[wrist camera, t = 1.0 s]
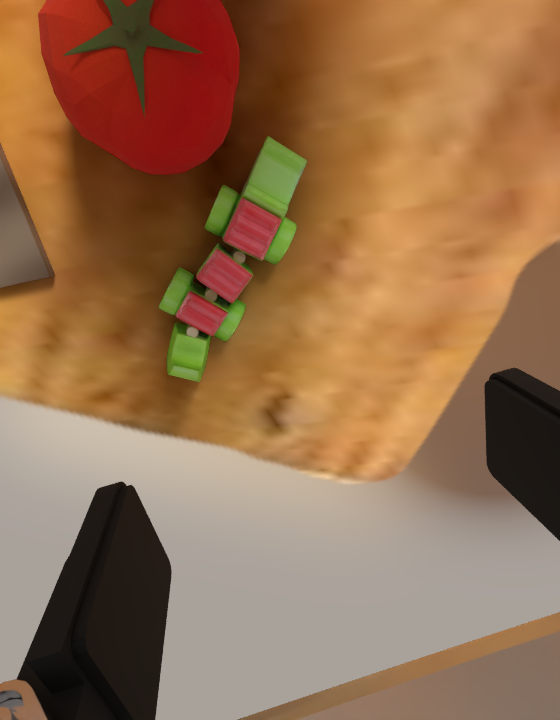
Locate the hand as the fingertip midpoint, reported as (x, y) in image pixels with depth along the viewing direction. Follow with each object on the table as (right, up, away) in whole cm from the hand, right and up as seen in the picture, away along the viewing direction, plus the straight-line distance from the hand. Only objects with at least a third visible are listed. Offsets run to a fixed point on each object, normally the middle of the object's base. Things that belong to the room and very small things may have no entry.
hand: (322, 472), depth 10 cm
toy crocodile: (-6, +11, +24) cm, 27 cm away
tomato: (-10, +23, +19) cm, 31 cm away
